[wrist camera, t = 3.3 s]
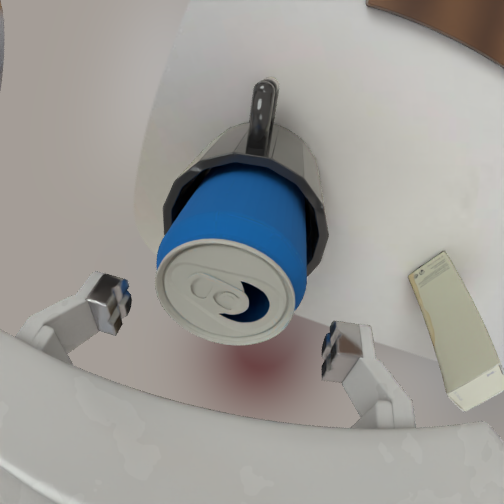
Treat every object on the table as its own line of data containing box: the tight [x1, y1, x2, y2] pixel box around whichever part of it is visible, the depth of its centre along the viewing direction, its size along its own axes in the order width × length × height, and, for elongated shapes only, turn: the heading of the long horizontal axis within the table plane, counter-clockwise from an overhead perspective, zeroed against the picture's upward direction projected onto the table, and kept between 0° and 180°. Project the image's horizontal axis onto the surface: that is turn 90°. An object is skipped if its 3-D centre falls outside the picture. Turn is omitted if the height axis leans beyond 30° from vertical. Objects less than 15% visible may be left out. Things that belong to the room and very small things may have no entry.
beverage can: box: [155, 162, 307, 345], centre depth 17 cm, size 6×6×12 cm
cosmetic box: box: [408, 251, 504, 412], centre depth 20 cm, size 6×4×12 cm
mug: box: [163, 77, 329, 276], centre depth 18 cm, size 12×9×8 cm
